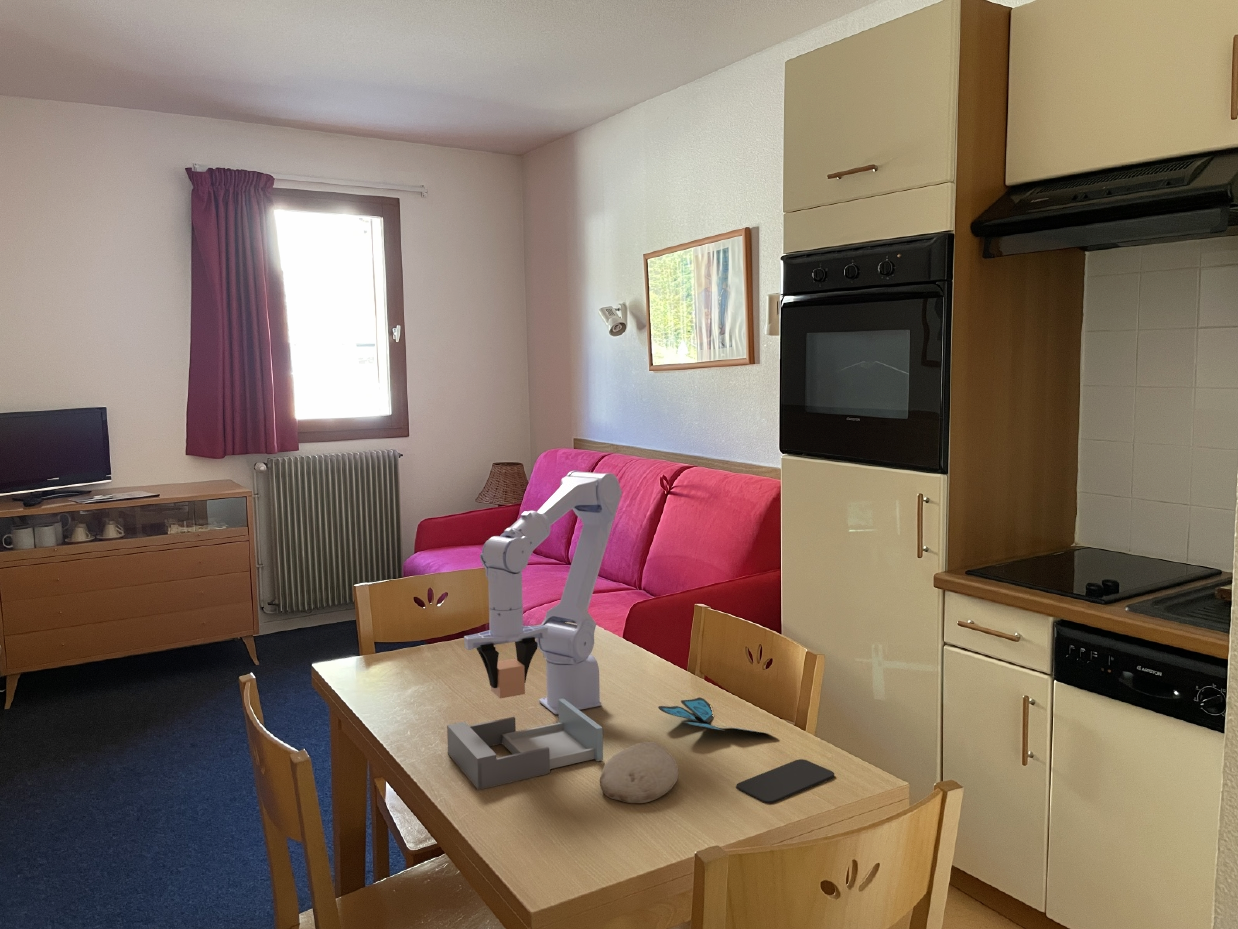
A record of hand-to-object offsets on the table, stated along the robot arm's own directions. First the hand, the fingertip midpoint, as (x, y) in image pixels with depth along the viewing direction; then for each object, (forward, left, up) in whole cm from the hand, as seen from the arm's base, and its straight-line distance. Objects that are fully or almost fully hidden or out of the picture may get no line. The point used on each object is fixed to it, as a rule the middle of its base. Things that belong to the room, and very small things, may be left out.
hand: (507, 684), depth 158 cm
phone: (-29, +39, -9) cm, 50 cm away
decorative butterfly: (-31, +16, -9) cm, 36 cm away
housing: (+6, +11, -8) cm, 15 cm away
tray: (-2, +11, -8) cm, 14 cm away
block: (0, 0, -2) cm, 2 cm away
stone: (-10, +30, -9) cm, 32 cm away
